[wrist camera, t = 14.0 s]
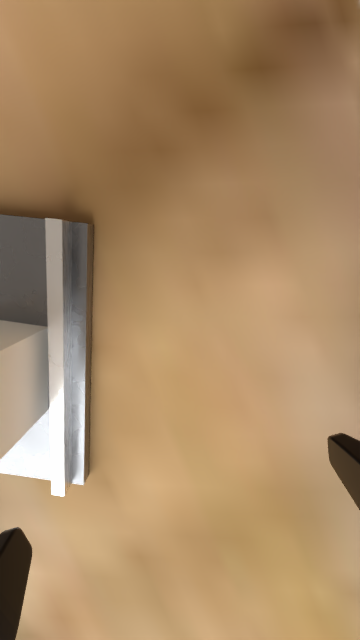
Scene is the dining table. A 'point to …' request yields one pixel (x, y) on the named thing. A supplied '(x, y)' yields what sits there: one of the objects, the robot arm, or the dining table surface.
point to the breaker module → (21, 380)
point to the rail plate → (52, 340)
